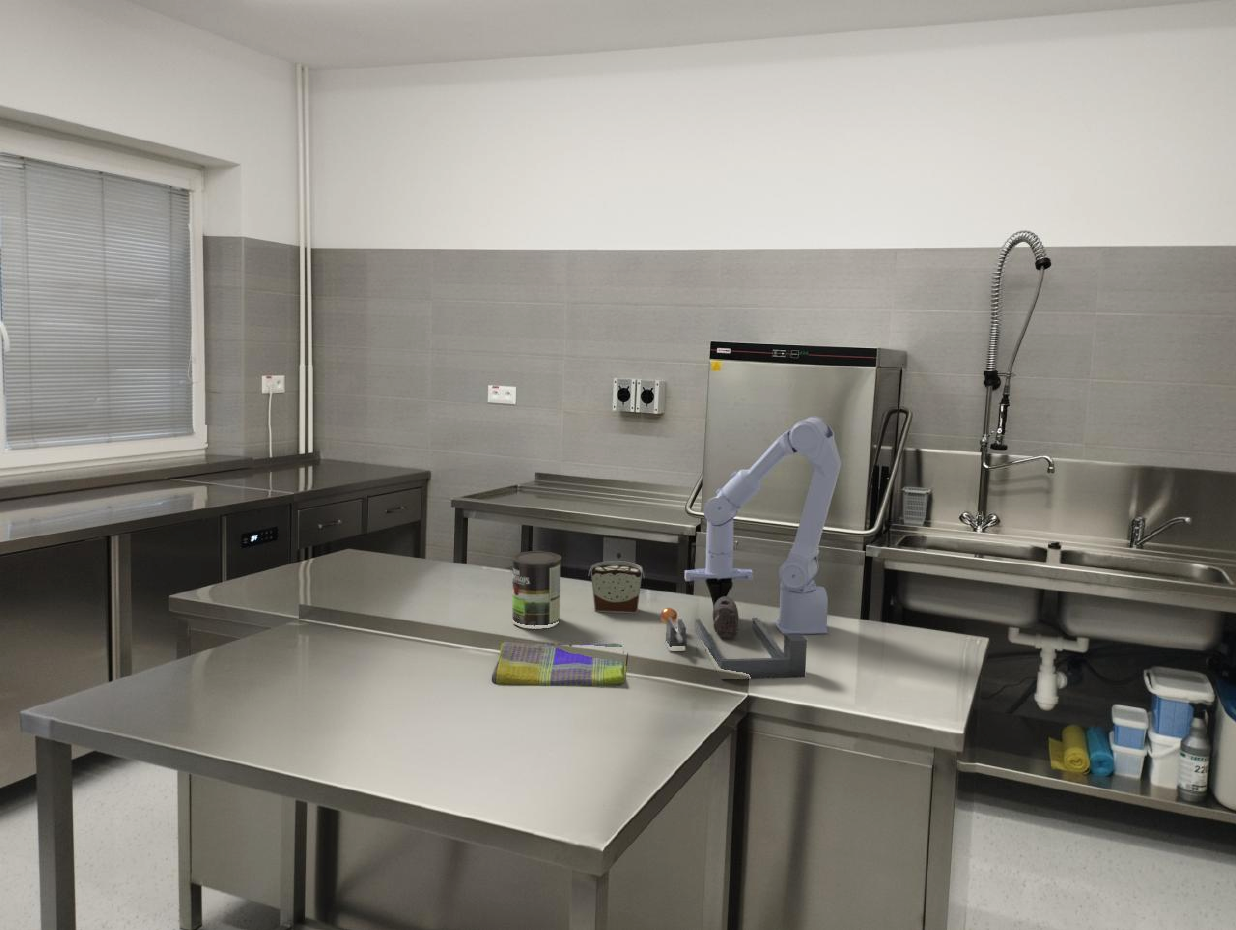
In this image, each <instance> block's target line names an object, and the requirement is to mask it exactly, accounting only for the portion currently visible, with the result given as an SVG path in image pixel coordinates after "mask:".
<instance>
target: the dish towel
mask: <svg viewBox="0 0 1236 930" xmlns="http://www.w3.org/2000/svg"><path fill="white" fill-rule="evenodd" d="M547 644H548V643H544V644H543V643H537V644H530V643H518V642H509V641H504V642H503V643H501V645H500V653H499V655H498V659H497V662H496V664H495V665H494V668H493V671H492V674H491V682H492V683H496V684H497V685H517V686H518V685H523V686H524V685H525V686H526V685H527V686H558V687H559V686H560V687H561V686H566V687H568V686H581V687H582V686H584V687H586V686H594V687H595V686H597V687H599V686H609V685H610V686H611V685H619V684H624V683H625V678H626V671H627V666H625V665H623V662H618V661H614V660H607V659H600V658H592V657H588V656H584V655H581V654H573V653H568V652H565V651H563V650H562V649H559V648H557V647H553V646H549V645H550V644H549V645H547ZM580 645H594V646H605V647H622V646H623V645H622V644H620V643H613V642H612V643H582V644H580Z"/></svg>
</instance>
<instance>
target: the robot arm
mask: <svg viewBox="0 0 1236 930" xmlns="http://www.w3.org/2000/svg"><path fill="white" fill-rule="evenodd" d="M797 452H798V453H800V454H801V455H802V456H803V457H805V458H806V459H807V461H808V462H809V464H810V465H811V467H812V468H813V470H814V471H813V474H812V479H811V481H810V484H809V489H808V492H807V496H806V499H805V503H804V505H803V510H802V513H801V517H800V521H799V524H798V526H797V527H798V528H797V531H796V534H795V539H794V541H793V544H792V546H791V547H790V550H789V551H788V555H787V559H786V560H785V562H784V563H783V564H782V565H781V566H780V568H779V571H778V578H779V581H780V595H779V619H773V620H772V621H773V623H774V625H775V626H776V627H777V629H778V630H779V632H781V634H782V635H784V634H785V633H801V634H802V635H810V634H811V635H813V634H815V635H817V634H828V629H827V625H828V624H827V623H828V609H829V607H828V606H829V604H828V603H829V602H828V601H829V600H828V594H827V590H826V589H825V587H823V586H817V584H816V582H815V580H814V578H815V577H816V575H817V574H818V571H819V568H820V565H819V561H818V556H819V551H820V549H819V544H820V541H821V536H822V535H823V530H824V527H825V522H826V519H827V516H828V513H829V509H830V506H831V502H832V498H833V495H834V492H835V489H836V485H837V482H838V478H839V476H840V475H839V474H840V471H841V468H842V460H841V457H840V453H839V450H838V447H837V443H836V438H835V431H834V430H833V428H832V427H831V426H830V425H829V424H828V422H827V421H826V420H825V419H823V417H820V416H810V417H807V418H806V419H804V420H800V421H798V422H797V423H795V424H794V425H793V426H792V427H791V428H790V429H788V430H786V431H785V432H784V433H783V434H781V435H780V436H779V437H778V438H776V440H775V441H774V442H773V443H772V444H771V445H770V446H769V447H768V448H767V449H766V451H765V452H764V453H763V454H762V455H761V456H760V457H759V458H758V459H757V461H755V462H754V464H753V465H751V467H750V468H749V469H740V470H738V471H734V472H732V474H731V475H730V478H731V479H729V481H727V483H725V485H724V486H723V487H722V488H721V487H720V488H718V489H717V490H716V491H715V494H716V496H714V497H712V498H709V499H708V500H707V501H706V503H705V505H704V508H703V515H704V518H705V520H706V536H705V537H706V538H705V539H706V541H705V542H706V543H705V568H704V567H703V568H696V569H686V570H684V580H685V582H691V581H704V582H705V584H706V586H707V589H708V591H709V594H710V595H709V596H710V598H711V601H712V608H713V609H714V605H715V603H716V601H717V600H718V599H719V598H720V597H723V596H727V597H728V595H729V593H730V591H731V590H732V588H733V582H732V581H733V580H734V581H735V580H736V581H738V580H747V581H753V578H754V571H753V570H752V569H751V568H735V567H734V568H733V555H734V518H735V517H736V516H737V514H738V513H739V512H738V511H739V510H740V509H742V508H743V507H744V506H745V505H746V504H747V503H748V502H749V501H750V500H751V499H752V498H753V497H754V496H755V495H756V494H757V493H758V492H759V491H760V489H761V480H762V478H764V477H765V476H766V475H767V474H768V473H769V472H770V471H771V470H773V468H774V467H775V466H776V465H777V464H778V463H780V462H781V461H782V460H783V459H784V458H785V457H786V456H789V455H790V456H791V455H793V454H796V453H797Z"/></svg>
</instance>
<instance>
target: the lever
mask: <svg viewBox="0 0 1236 930" xmlns="http://www.w3.org/2000/svg"><path fill="white" fill-rule="evenodd" d="M660 619H661V621H662V623H664V624H665V625H667V620H669V619H670V620H671V622H672V624H673V627H674V634H675V636H676V638H677V640H678V642H679V643H682V642H683V638H682V636H681V634H680V632H679V630H678V625H677V624H676V621H678V614H677V610H675V608H673V607H665V608H664V609H663V610H662V611H661V613H660Z"/></svg>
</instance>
